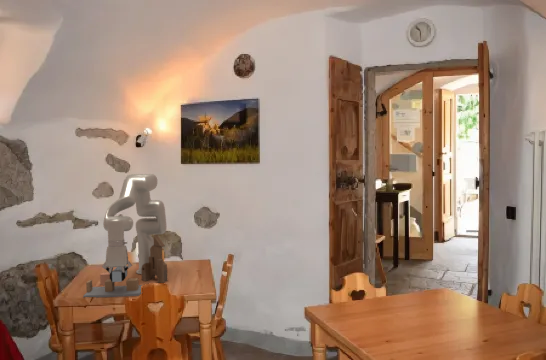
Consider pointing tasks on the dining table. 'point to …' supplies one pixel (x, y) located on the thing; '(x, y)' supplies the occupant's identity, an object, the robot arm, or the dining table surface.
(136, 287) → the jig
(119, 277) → the blue-gray rectangular block
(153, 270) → the wooden toy
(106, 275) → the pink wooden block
